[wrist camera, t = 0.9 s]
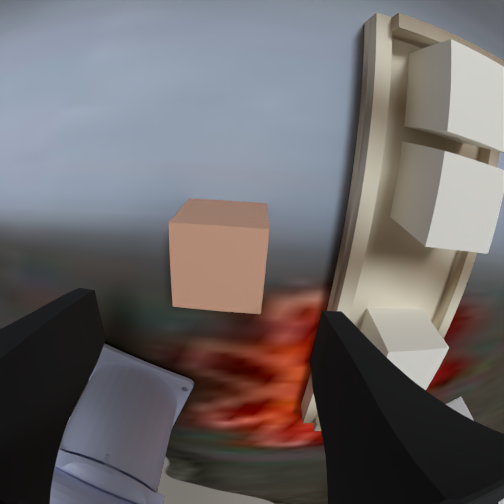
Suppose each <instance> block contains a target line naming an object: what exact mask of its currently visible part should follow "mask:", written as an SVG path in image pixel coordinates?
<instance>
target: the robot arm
mask: <svg viewBox="0 0 504 504" xmlns="http://www.w3.org/2000/svg"><path fill="white" fill-rule="evenodd" d="M105 340H106V338H105V334H104V330H103V326H102V322H101V318H100V313H99V309H98V304H97V300H96V295H95V290H90V289H83V288H79V289H76V290H74V291H71V292H69V293H67V294H65V295H63V296H61V297H59V298H58V299H56V300H54V301H52V302H50V303H48V304H47V305H45V306H43V307H41V308H39V309H38V310H36V311H34V312H32V313H30V314H29V315H27V316H25V317H23V318H21V319H19V320H17V321H15V322H13V323H11V324H10V325H8V326H6V327H4V328H2V329H0V504H163V502H164V495H161V494H159V493H157V491H158V486H159V481H160V477H161V473H162V468H163V464H164V459H165V455H166V451H167V446H168V442H169V438H170V434H171V429H172V427H173V425H174V423H175V421H176V419H177V417H178V415H179V414H180V412H181V410H182V408H183V406H184V404H185V402H186V400H187V398H188V396H189V394H190V392H191V391H192V389H193V386H194V382H193V380H191V379H190V378H187V377H184V376H181V375H179V374H176V373H173V372H171V371H168V370H165V369H163V368H160V367H158V366H155V365H153V364H150V363H148V362H146V361H143V360H141V359H138V358H136V357H134V356H131V355H129V354H127V353H124V352H122V351H120V350H118V349H116V348H113V347H111V346H109V345H107V344H105ZM310 363H311V377H312V388H313V393H314V398H315V403H316V408H317V413H318V417H319V422H320V427H321V432H322V437H323V442H324V447H325V454H326V465H327V482H328V504H498V502H500V501H501V500H502V499H504V434H503V433H500V432H497V431H495V430H492V429H490V428H488V427H486V426H484V425H482V424H480V423H477V422H475V421H473V420H471V419H470V418H468V417H466V416H464V415H462V414H460V413H459V412H457V411H456V410H454V409H452V408H451V407H449V406H447V405H446V404H444V403H443V402H441V401H440V400H438V399H437V398H435V397H434V396H432V395H431V394H430V393H428V392H427V391H426V390H424V389H423V388H422V387H420V386H419V385H418V384H416V383H415V382H414V381H413V380H411V379H410V378H409V377H408V376H407V375H405V374H404V373H403V372H402V371H401V370H400V369H399V368H398V367H396V366H395V365H394V364H393V363H392V362H391V361H390V360H389V359H388V358H387V357H386V356H385V355H384V354H383V353H382V352H381V351H380V350H379V349H378V348H377V347H376V346H375V345H374V344H373V343H372V342H371V341H370V340H369V339H368V338H367V337H366V336H365V335H364V334H363V333H362V332H361V331H360V330H359V329H358V328H357V327H356V326H355V325H354V324H353V322H352V321H351V320H350V319H349V318H348V317H347V316H346V315H345V314H344V313H343V312H342V311H322V314H321V319H320V323H319V327H318V331H317V335H316V339H315V343H314V347H313V351H312V355H311V359H310ZM88 380H89V382H88ZM87 382H88V384H87V386H86V388H85V390H84V392H83V394H82V396H81V398H80V400H79V402H78V404H77V405H76V403H77V401H78V399H79V397H80V395H81V393H82V391H83V389H84V387H85V385H86V383H87ZM185 387H186V388H185ZM75 405H76V407H75ZM74 407H75V409H74ZM73 409H74V411H73ZM72 411H73V413H72ZM71 413H72V415H71ZM70 415H71V417H70ZM69 417H70V420H69ZM68 420H69V422H68ZM67 422H68V424H67ZM66 425H67V426H66Z"/></svg>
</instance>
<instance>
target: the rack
mask: <svg viewBox="0 0 504 504" xmlns="http://www.w3.org/2000/svg"><path fill="white" fill-rule="evenodd" d="M450 39H452V40H454V41H456V42H458V43H460V44H463V45H465V46H467V47H469V48H471V49H473V50H475V51H477V52H479V53H480V54H482V55H484V56H486V57H488V58H490V59H491V60H493V61H495V62H497V63H498V64H500V65H502V66H503V67H504V61H503V60H501V59H499V58H497V57H496V56H494V55H492V54H491V53H489V52H487V51H485V50H483V49H482V48H480V47H478V46H476V45H474V44H472V43H470V42H468V41H466V40H464V39H462V38H460V37H458V36H456V35H454V34H451V33H449V32H447V31H445V30H442V29H440V28H438V27H435V26H433V25H430V24H428V23H425V22H423V21H420V20H418V19H415V18H412V17H409V16H406V15H404V14H401V13H398V14H396V15H395V16H393V17H389V16H386V15H382V14H379V13H376V14H374V15H373V16H372V17H371V18H370V19H368V20H367V21H366V22H365V26H364V56H363V74H362V89H361V101H360V113H359V123H358V132H357V141H356V150H355V158H354V165H353V173H352V180H351V187H350V193H349V200H348V206H347V212H346V218H345V224H344V230H343V235H342V240H341V246H340V251H339V256H338V261H337V266H336V271H335V276H334V280H333V285H332V290H331V294H330V299H329V303H328V307H327V311H342V312H343V313H344V314H345V315H346V316H347V317H348V318H349V319H350V320H351V321H352V322H353V324H354V325H355V326H356V327H357V328H358V329H359V330H360V328H361V325H362V322H363V319H364V315H365V312H366V309H367V308H422V310H423V311H424V312H425V314H426V315H427V316H428V318H429V319H430V321H431V322H432V323H433V325H434V326H435V328H436V329H437V331H438V332H439V333H440V335H441V336H442V338H443V339H444V337H445V335H446V332H447V330H448V328H449V326H450V324H451V321H452V319H453V317H454V314H455V312H456V310H457V307H458V305H459V302H460V300H461V297H462V295H463V292H464V290H465V287H466V284H467V281H468V279H469V276H470V273H471V270H472V267H473V264H474V261H475V258H476V255H477V252H469V251H460V250H451V249H442V248H432V247H425V246H424V245H423V244H421V243H420V242H419V241H418V240H417V239H416V238H415V237H413V236H412V235H411V234H410V233H409V232H408V231H406V230H405V229H404V228H403V227H402V226H400V225H399V224H398V223H397V222H396V221H394V220H393V219H392V218H391V217H390V214H391V209H392V203H393V198H394V193H395V187H396V181H397V175H398V169H399V162H400V155H401V148H402V141H403V142H408V143H413V144H417V145H422V146H426V147H431V148H435V149H439V150H443V151H447V152H451V153H454V154H457V155H461V156H464V157H467V158H470V159H473V160H476V161H479V162H482V163H485V164H488V165H491V166H494V167H496V168H497V166H498V159H499V152H498V151H494V150H490V149H486V148H482V147H478V146H473V145H469V144H464V143H461V142H458V141H454V140H451V139H448V138H445V137H442V136H438V135H435V134H431V133H428V132H424V131H421V130H417V129H413V128H409V127H405V126H404V122H405V112H406V100H407V85H408V64H409V53H412V52H414V51H417V50H420V49H423V48H426V47H429V46H431V45H434V44H437V43H440V42H444V41H447V40H450ZM301 410H302V419H303V423H313V424H314V431H321V427H320V422H319V417H318V413H317V408H316V403H315V398H314V393H313V388H312V377H311V373H310V377H309V380H308V384H307V387H306V390H305V394H304V397H303V400H302V404H301Z"/></svg>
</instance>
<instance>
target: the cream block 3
mask: <svg viewBox="0 0 504 504" xmlns="http://www.w3.org/2000/svg"><path fill="white" fill-rule="evenodd" d="M360 331H361V332H362V333H363V334H364V335H365V336H366V337H367V338H368V339H369V340H370V341H371V342H372V343H373V344H374V345H375V346H376V347H377V348H378V349H379V350H380V351H381V352H382V353H383V354H384V355H385V356H386V357H387V358H388V359H389V360H390V361H391V362H392V363H393V364H394V365H395V366H396V367H398V368H399V369H400V370H401V371H402V372H403V373H404V374H405V375H407V376H408V377H409V378H410V379H411V380H413V381H414V382H415V383H416V384H418V385H419V386H420V387H422V388H423V389H424V390H426V389H427V387H428V385H429V384H430V382H431V380H432V379H433V377H434V375H435V373H436V372H437V370H438V368H439V366H440V364H441V363H442V361H443V359H444V357H445V355H446V353H447V351H448V349H449V347H448V345H447V344H446V342H445V341H444V339H443V338H442V336H441V335H440V333H439V332H438V331H437V329H436V328H435V326H434V325H433V323H432V322H431V321H430V319H429V318H428V316H427V315H426V314H425V312H424V311H423V310H422V308H367V309H366V312H365V315H364V319H363V322H362V325H361V328H360Z"/></svg>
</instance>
